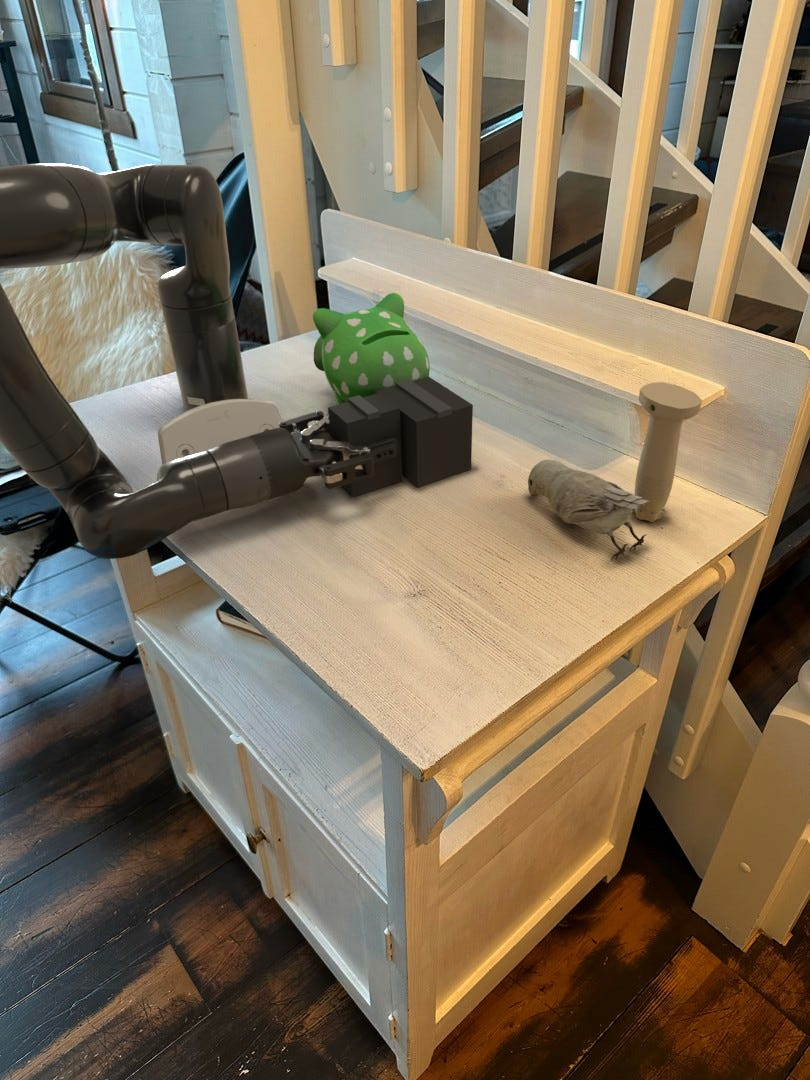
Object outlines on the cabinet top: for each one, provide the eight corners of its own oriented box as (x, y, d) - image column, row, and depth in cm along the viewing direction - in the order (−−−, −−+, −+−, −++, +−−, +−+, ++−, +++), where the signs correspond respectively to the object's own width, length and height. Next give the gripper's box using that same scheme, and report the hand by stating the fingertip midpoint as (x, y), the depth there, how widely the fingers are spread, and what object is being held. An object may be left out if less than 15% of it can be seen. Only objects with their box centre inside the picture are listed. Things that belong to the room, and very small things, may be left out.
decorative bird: (547, 488, 92) (553, 433, 88) (651, 552, 81) (663, 493, 77) (514, 502, 90) (517, 447, 85) (616, 571, 79) (626, 511, 75)
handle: (653, 535, 84) (678, 412, 75) (612, 508, 88) (630, 389, 79) (684, 521, 86) (711, 400, 77) (642, 496, 90) (663, 378, 81)
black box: (334, 479, 95) (327, 403, 89) (383, 463, 98) (379, 389, 92) (353, 497, 92) (346, 420, 86) (402, 481, 94) (400, 405, 88)
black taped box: (378, 453, 100) (374, 388, 95) (429, 437, 103) (428, 373, 98) (417, 487, 93) (416, 419, 88) (471, 469, 96) (473, 401, 91)
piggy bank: (387, 376, 120) (382, 281, 111) (448, 420, 107) (449, 316, 99) (304, 398, 115) (293, 299, 106) (359, 447, 102) (351, 339, 93)
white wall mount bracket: (172, 500, 92) (149, 419, 89) (167, 494, 96) (144, 416, 93) (301, 465, 98) (283, 388, 95) (291, 461, 102) (274, 387, 99)
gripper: (274, 467, 78) (409, 426, 85) (227, 415, 88) (350, 382, 95) (283, 526, 83) (410, 483, 89) (237, 470, 93) (354, 435, 99)
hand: (379, 431), depth 92 cm, fingers open, 8 cm apart
